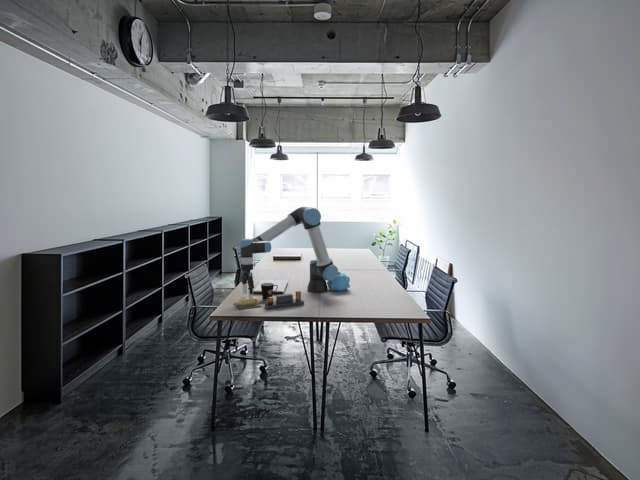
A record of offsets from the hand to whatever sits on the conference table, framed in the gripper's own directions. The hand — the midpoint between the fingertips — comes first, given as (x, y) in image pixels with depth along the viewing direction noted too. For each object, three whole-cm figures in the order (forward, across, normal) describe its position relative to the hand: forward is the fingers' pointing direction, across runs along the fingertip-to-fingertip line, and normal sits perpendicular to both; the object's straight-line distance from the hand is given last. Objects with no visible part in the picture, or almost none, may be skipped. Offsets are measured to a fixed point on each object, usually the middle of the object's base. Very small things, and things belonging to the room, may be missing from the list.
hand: (247, 296), depth 240 cm
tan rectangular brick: (+5, 0, 0) cm, 5 cm away
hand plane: (+6, +11, +21) cm, 24 cm away
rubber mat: (+6, 0, 0) cm, 6 cm away
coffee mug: (+6, -9, +18) cm, 21 cm away
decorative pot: (+7, -11, +73) cm, 74 cm away
